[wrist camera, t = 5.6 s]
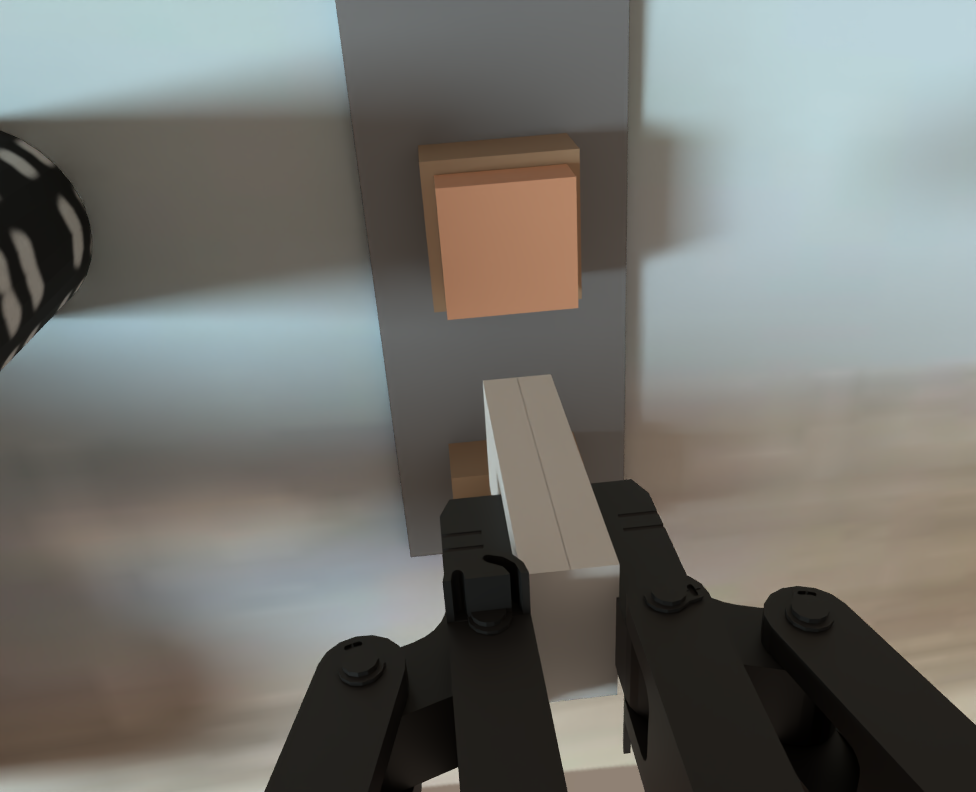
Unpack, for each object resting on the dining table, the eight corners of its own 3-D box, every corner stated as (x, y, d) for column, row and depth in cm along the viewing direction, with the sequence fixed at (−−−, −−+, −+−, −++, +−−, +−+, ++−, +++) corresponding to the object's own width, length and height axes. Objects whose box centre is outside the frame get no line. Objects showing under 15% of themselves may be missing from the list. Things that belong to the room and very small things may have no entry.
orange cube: (442, 274, 37) (447, 319, 32) (431, 156, 35) (435, 188, 30) (557, 263, 37) (578, 308, 33) (554, 146, 35) (576, 176, 30)
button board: (410, 547, 45) (410, 596, 41) (296, -304, 28) (281, -337, 25) (619, 525, 45) (636, 572, 42) (627, -324, 29) (656, -359, 25)
